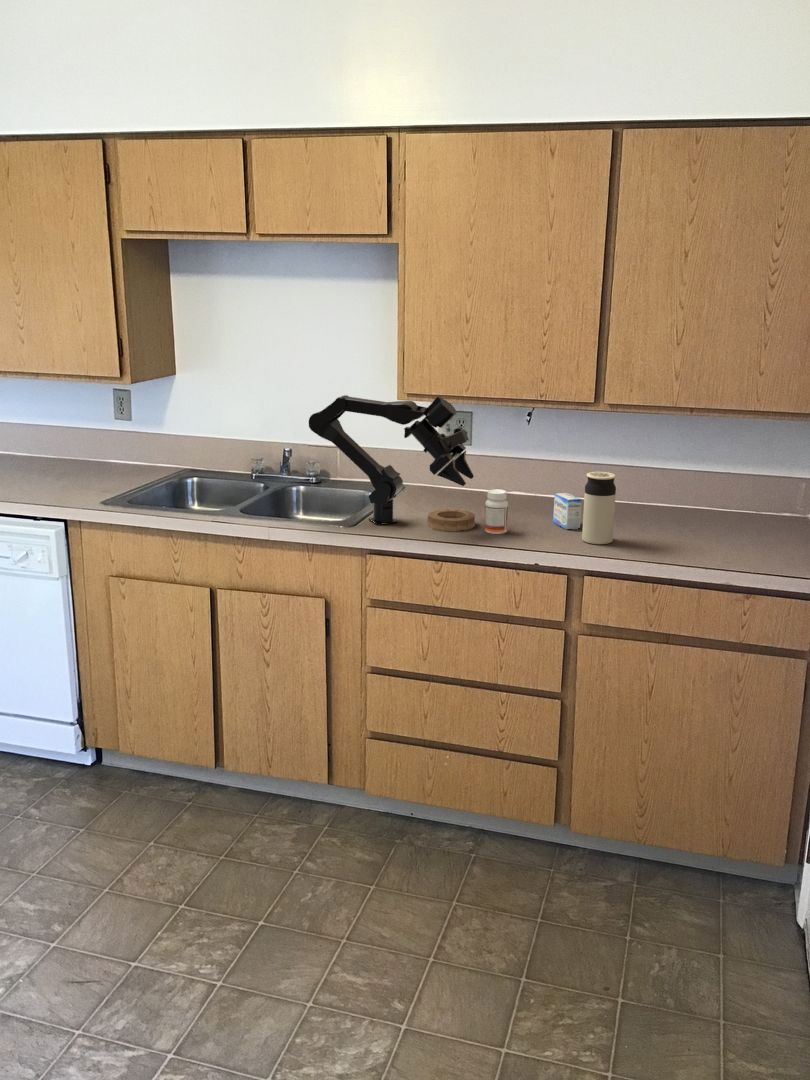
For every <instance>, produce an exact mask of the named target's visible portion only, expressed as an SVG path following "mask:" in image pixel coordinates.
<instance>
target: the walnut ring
mask: <svg viewBox="0 0 810 1080" xmlns="http://www.w3.org/2000/svg"><path fill="white" fill-rule="evenodd" d="M475 523H476V513H474V512H472V511H471V510H467V509H460V508H441V509H434V510H432V511H429V512H428V514H427V526H428V527H429V528H431V529H432V528H433V529H432V530H438V531H442V532H460V530H464V531H469V530H471V529H473V527H474V528H475V527H476V526H475V525H476V524H475ZM470 528H471V529H470ZM468 529H469V530H468Z"/></svg>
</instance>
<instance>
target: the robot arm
mask: <svg viewBox="0 0 810 1080" xmlns="http://www.w3.org/2000/svg"><path fill="white" fill-rule="evenodd" d="M345 412H348V413H354V414H355V413H357V414H360V415H361V414H363V415H368V416H369V415H370V416H376V417H381V418H385V419H386V420H389V421H390V422H393V423H396V424H399V425H401V426H403V425H408V424H410V423H412V422H414V423H412V424H411V425H410V426H406V427H404V428H403V430H404V436H403V437H404V439H406V438H409V437H410V436H413V437H414V439H415V440H416V441H417V442H418V443H420V445H421V446H422V447H423V452H424V453H428V454H429V455H430V456H431V457H432V458H433V459H434V460H433V461H432V463H430V464H429V471H430V472H431V473H432V475H433V476H435V475H436V476H437V477H440V478H442V479H446V480H448V481H451V482H453V483H454V484H458V485H460V486H462V487H464V486H465V485H466V484H467V482H466V480H465V479H464V478H463V477H462V475H463V476H465V477H467V478H469V479H471V480H472V479H473V478H474V477H475V475H474V473H473V472H472V469H471V467H470V466H469V464H468V462H467V460H466V456H467V455H466V454H467V450H466V449H467V447H466V446H465V445H464V444H465V443H467V441H469V439H470V438H469V437H468V431H466V429H465V428H462V427H461V426H458V427H456V428H455V429H453V433H452V434H449V435H446V434H445V433H439V431H438V430H437V429H436V428H440V429H441V428H443V427H444V426H445V425H447V424H448V422H449V421H451V420H452V419H453V418H454V417H455V416H456V415H457V410H456V408H455V407H454V406H453V404H452V403H451V402H448V401H447V400H446V399H445V398H442V396H441V395H438V396H436V398H434V400H433V401H432V402H431V403H430V405H428V406H422V405H417V403H416V402H414V401H413V400H398V401H382V400H373V399H367V398H361V397H354V396H349V395H348V394H347V395H346V394H345V395H341V396H339V397H336V399H335V400H333V402H332V403H330V404H329V405H327V406H326V407H325V408H323V409H322V410H321V411H320V410H319V411H317V412H315V413H312V414H311V415H310V416H309V419H308V428H309V429H310V430H311V432H313V433H314V434H316V435H317V436H318V437H320V438H321V439H324V440H326V441H328V442H331V443H332V444H333V445H335V446H336V448H337V449H338V450H340V451H341V452H342V453H343V454H344V455H345V456H346V457H347V458H348V459H349V460H350V461H351V462H352V463H353V464H354V465H356V466H357V467H358V468H359V470H361V471H362V472H363V473H364V474H365V475H366V476H367V477H368V480H369V482H370V483H371V486H372V487H373V488H374V490H373V491H372V492H371V493H370V494H369V495H368V499H369V502H370V503H371V504H372V515H373V516H372V517H368V520H369V519H370V518H371V519H370V520H372V521H374V522H375V523H377V524H381V525H383V524H382V523H390V524H394V523H393V522H399V520H397V519H396V518H395V517H394V499H395V498H396V497H397V495H398V493H400V492H401V491H402V489H403V486H404V481H403V478H402V477H401V476H400V475H401V473H400V472H398V471H396V470H395V468H394V467H393V466H392V465H391V464H388V465H387V466H383V465H381V464H379V462H377V460H375V459H374V458H373V457H372V456H371V455H370V454H369V453H368V452H367V451H366V450H365V449H364V448H363V447H361V446H360V444H358V443H357V442H356V441H355V440H354V439H353V438H352V437H351V436H350V435H349V434H348V433H346V432H345V430H344V428H343V426H342V424H341V421H340V420H339V419H340V417H342V416H343V415H344V414H345ZM422 417H424V418H423V419H422V420H418V419H421V418H422ZM461 474H462V475H461ZM370 520H369V521H370ZM372 521H371V522H372ZM375 523H374V524H375ZM377 524H376V525H377Z"/></svg>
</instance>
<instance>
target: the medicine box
mask: <svg viewBox="0 0 810 1080" xmlns="http://www.w3.org/2000/svg"><path fill="white" fill-rule="evenodd" d="M553 501H554V503H553V516H552V518H553V519H552V523H553V524H554V523H555V524H554V525H556V524H557V525H556V526H557V527H560V526H561V527H560V528H562V529H564V530H566V529H573V530H579V529H578V528H580V529H581V518H582V503H583V500H582V499H581V498H580V497H577V496H575V495H572V494H571V493H568V492H561V493H555V494H554V500H553Z"/></svg>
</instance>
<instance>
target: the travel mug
mask: <svg viewBox="0 0 810 1080" xmlns="http://www.w3.org/2000/svg"><path fill="white" fill-rule="evenodd" d="M586 477H587V482H586V483H585V485H584V499H583V500H584V501H583V512H582V513H583V516H582V533H581V534H582V535H581V536H582V537H581V540H582V541H584V542H585V543H587V544H590V545H608V544H610V543H613V540H614V538H613V537H614V526H615V524H614V523H615V506H616V496H617V495H616V494H617V493H616V492H617V487H616V485H615V478H616V477H617V476H616V474H614V473H613V472H608V471H592V472H591V471H590V472H587V473H586Z"/></svg>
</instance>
